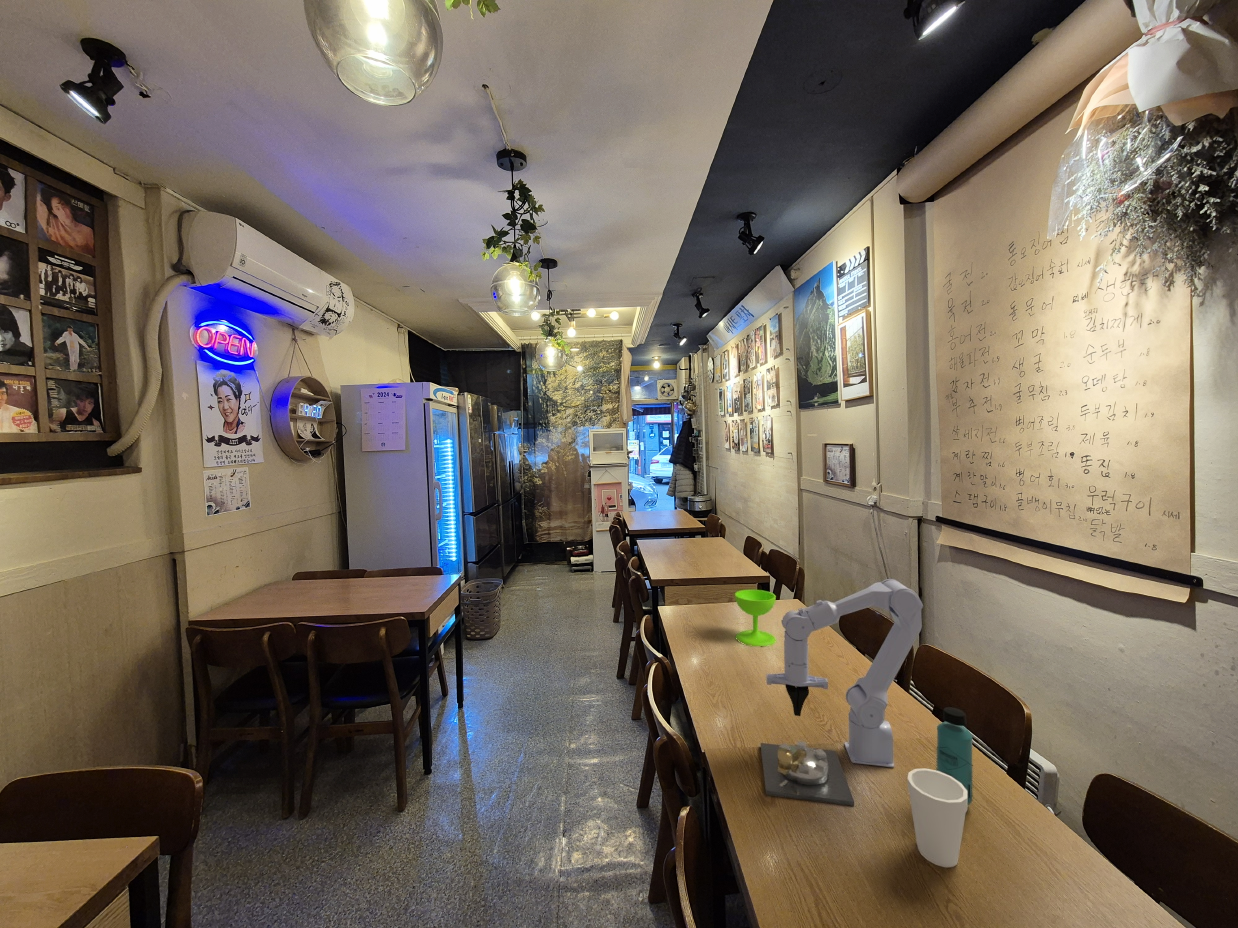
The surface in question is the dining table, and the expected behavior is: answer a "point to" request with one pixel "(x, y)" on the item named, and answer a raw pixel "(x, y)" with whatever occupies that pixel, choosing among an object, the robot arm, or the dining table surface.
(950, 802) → the foam cup
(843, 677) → the dining table surface
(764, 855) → the dining table surface
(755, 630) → the wineglass
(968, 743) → the beverage bottle
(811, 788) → the dark grey square plate
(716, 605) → the dining table surface
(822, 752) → the metal round piece
